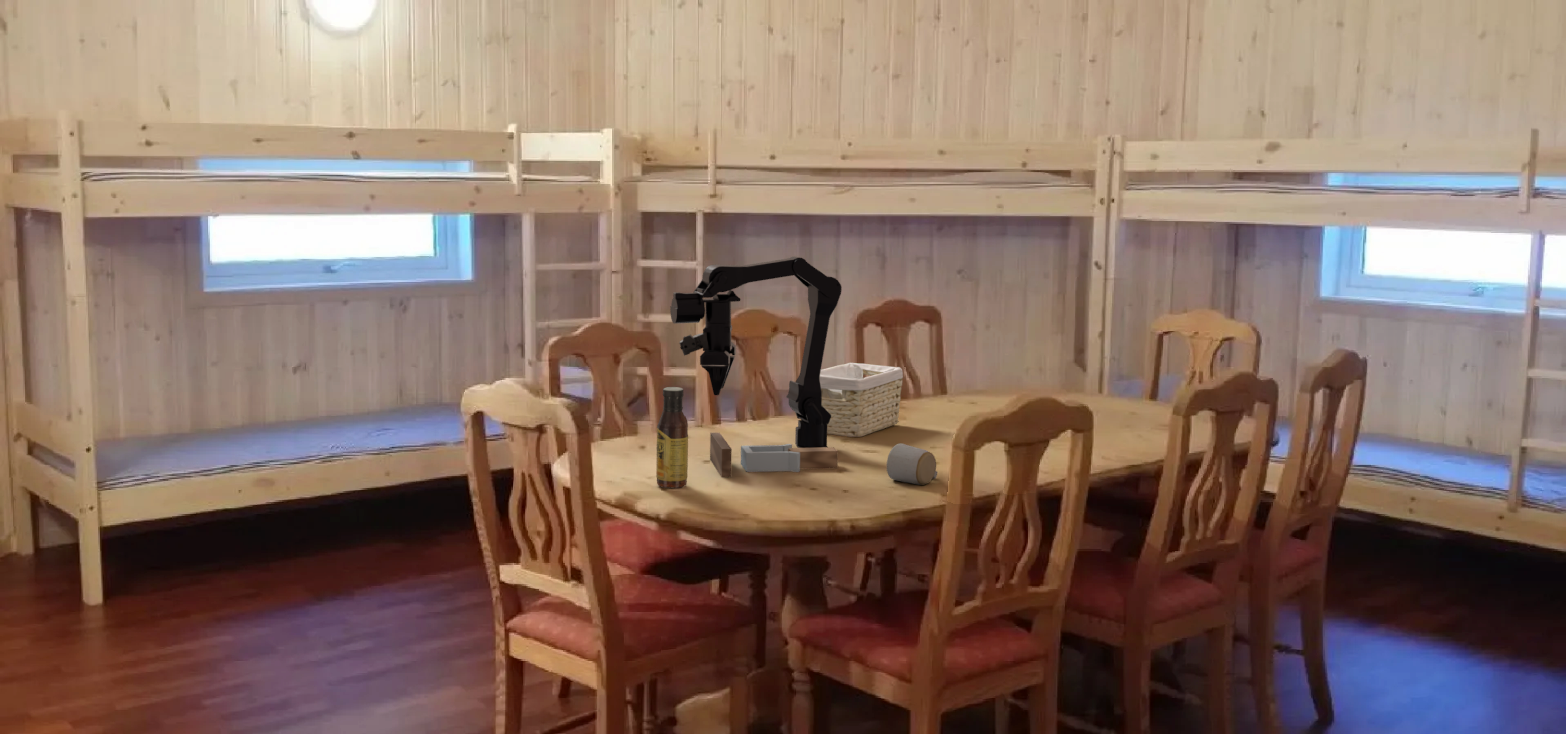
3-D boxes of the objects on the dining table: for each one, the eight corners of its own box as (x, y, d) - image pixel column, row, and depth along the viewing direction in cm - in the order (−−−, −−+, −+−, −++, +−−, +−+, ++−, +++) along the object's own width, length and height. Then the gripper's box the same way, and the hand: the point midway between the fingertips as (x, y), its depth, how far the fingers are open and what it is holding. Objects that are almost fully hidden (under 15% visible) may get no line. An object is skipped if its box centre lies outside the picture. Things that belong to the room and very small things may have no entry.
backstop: (719, 459, 316) (719, 432, 315) (731, 477, 298) (731, 448, 297) (710, 459, 315) (710, 432, 315) (721, 477, 298) (721, 448, 297)
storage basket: (858, 439, 342) (860, 378, 340) (800, 432, 351) (801, 372, 349) (904, 425, 363) (906, 367, 360) (847, 418, 371) (849, 361, 369)
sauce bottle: (656, 482, 292) (657, 385, 289) (687, 482, 293) (688, 385, 290) (656, 489, 286) (656, 390, 283) (687, 489, 286) (688, 390, 283)
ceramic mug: (918, 488, 292) (919, 451, 291) (884, 482, 297) (886, 445, 296) (946, 481, 300) (948, 444, 299) (913, 475, 305) (915, 439, 304)
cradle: (791, 461, 315) (791, 443, 314) (800, 472, 305) (800, 453, 304) (739, 462, 313) (740, 444, 312) (747, 473, 303) (747, 454, 302)
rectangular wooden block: (833, 465, 313) (833, 447, 313) (837, 469, 309) (837, 450, 309) (787, 466, 312) (788, 448, 311) (791, 470, 308) (791, 451, 307)
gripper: (687, 317, 329) (687, 384, 331) (676, 326, 310) (677, 398, 313) (735, 317, 328) (736, 385, 331) (728, 327, 310) (728, 398, 312)
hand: (718, 391), depth 321 cm, fingers open, 9 cm apart
